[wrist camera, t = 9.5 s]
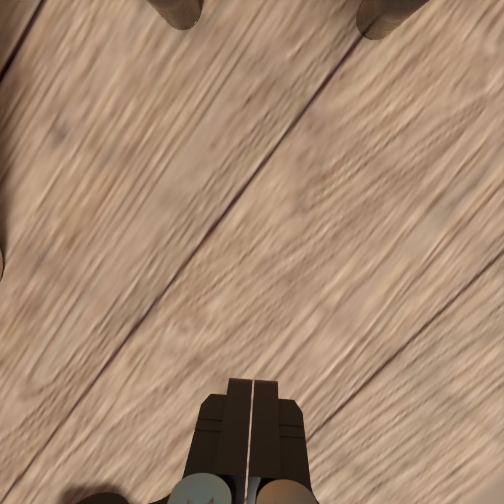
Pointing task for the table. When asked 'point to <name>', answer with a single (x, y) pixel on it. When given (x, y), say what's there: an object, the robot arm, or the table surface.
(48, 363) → the table surface
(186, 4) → the post
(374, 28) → the post
